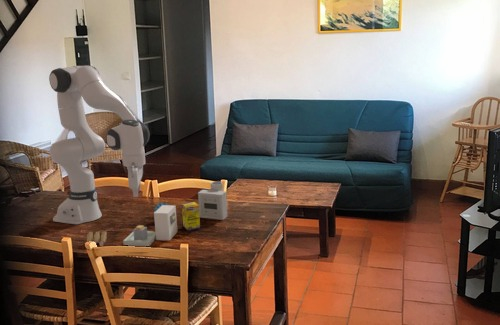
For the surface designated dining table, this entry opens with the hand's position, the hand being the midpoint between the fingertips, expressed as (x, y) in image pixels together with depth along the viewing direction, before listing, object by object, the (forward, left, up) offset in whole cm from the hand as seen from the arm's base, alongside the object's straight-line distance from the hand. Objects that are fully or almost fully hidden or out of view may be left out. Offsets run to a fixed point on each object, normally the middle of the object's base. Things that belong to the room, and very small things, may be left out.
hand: (137, 192), depth 215 cm
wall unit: (+9, +6, -21) cm, 24 cm away
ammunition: (-18, -6, -21) cm, 28 cm away
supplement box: (+17, +16, -21) cm, 32 cm away
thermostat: (+24, +35, -21) cm, 48 cm away
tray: (0, 0, -21) cm, 21 cm away
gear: (+2, +25, -21) cm, 33 cm away
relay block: (0, 0, -20) cm, 20 cm away
